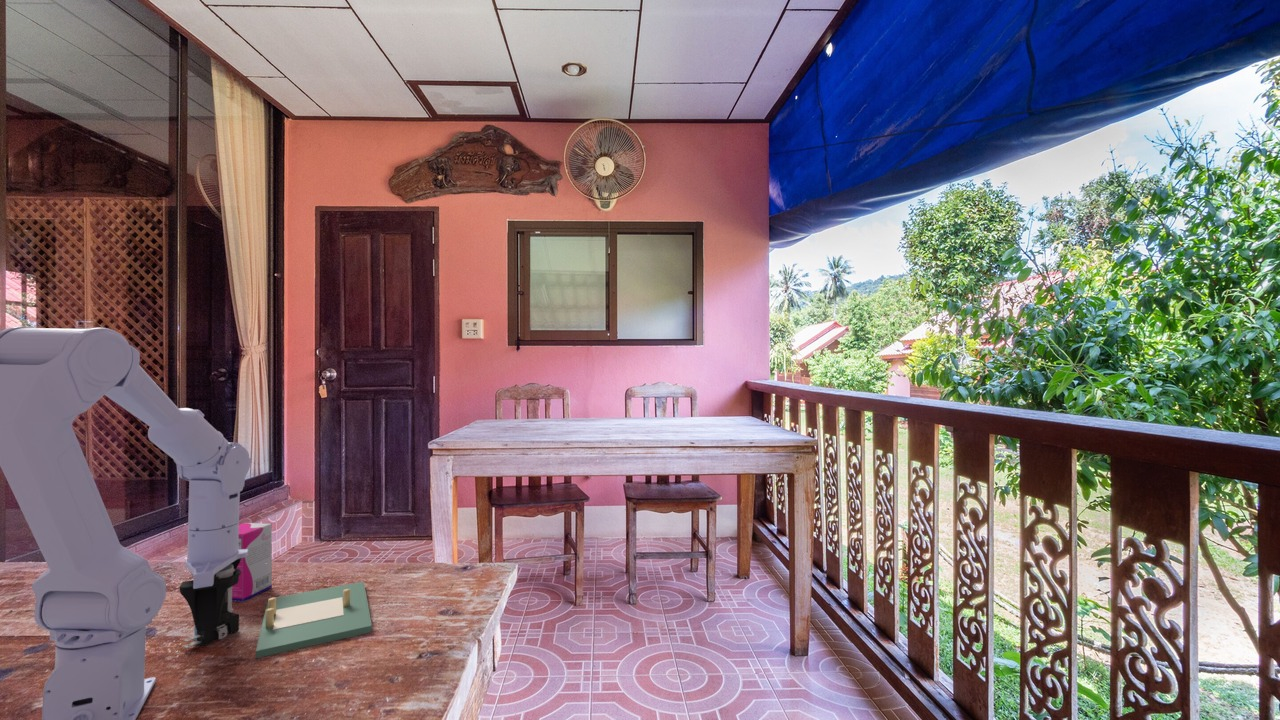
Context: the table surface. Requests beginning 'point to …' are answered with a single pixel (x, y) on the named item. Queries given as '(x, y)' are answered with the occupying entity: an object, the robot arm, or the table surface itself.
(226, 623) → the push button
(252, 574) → the supplement box
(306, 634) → the board
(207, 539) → the robot arm
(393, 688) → the table surface
